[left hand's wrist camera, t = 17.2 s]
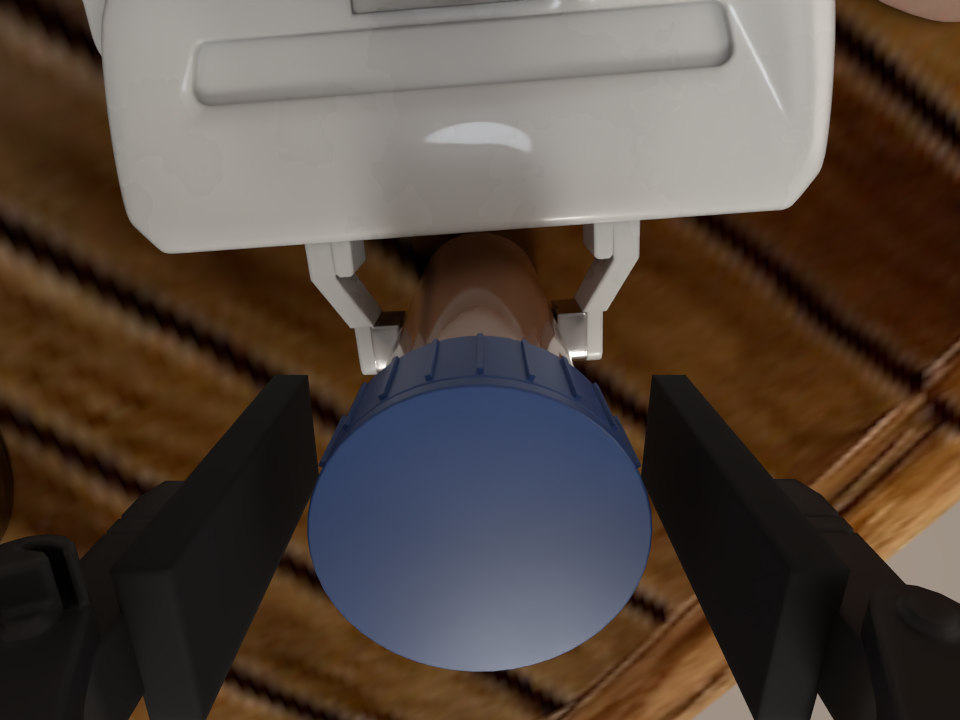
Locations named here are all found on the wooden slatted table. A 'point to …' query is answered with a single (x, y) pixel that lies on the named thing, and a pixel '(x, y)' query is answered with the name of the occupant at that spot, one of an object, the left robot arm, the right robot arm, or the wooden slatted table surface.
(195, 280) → the wooden slatted table surface
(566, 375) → the lid
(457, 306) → the jar
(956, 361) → the wooden slatted table surface
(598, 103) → the right robot arm
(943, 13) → the anatomical model
